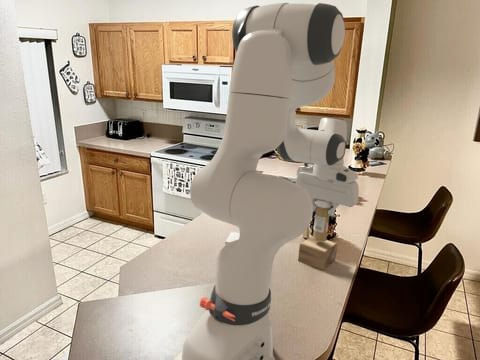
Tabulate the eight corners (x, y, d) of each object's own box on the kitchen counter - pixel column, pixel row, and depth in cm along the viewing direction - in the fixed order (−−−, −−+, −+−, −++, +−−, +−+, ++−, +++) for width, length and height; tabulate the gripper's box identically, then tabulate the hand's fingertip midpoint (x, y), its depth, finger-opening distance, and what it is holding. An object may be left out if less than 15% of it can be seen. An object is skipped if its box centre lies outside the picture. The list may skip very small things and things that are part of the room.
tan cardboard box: (323, 270, 112) (325, 252, 111) (298, 260, 118) (299, 243, 116) (335, 260, 119) (337, 243, 118) (310, 251, 125) (312, 235, 123)
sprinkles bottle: (329, 240, 116) (334, 201, 112) (319, 243, 113) (324, 203, 110) (319, 235, 120) (323, 197, 116) (309, 238, 117) (313, 198, 114)
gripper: (292, 166, 114) (289, 207, 118) (355, 178, 102) (349, 224, 106) (302, 163, 119) (298, 203, 123) (363, 175, 107) (357, 218, 111)
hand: (322, 213), depth 114 cm, fingers closed on sprinkles bottle, 4 cm apart
